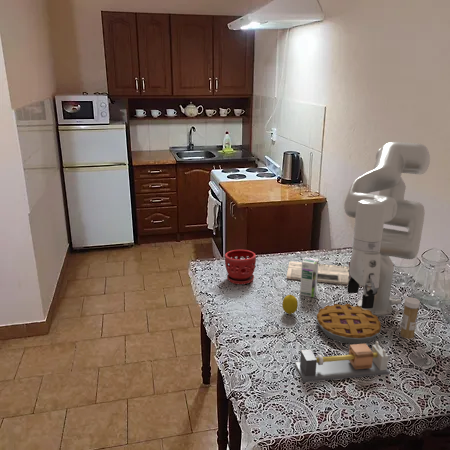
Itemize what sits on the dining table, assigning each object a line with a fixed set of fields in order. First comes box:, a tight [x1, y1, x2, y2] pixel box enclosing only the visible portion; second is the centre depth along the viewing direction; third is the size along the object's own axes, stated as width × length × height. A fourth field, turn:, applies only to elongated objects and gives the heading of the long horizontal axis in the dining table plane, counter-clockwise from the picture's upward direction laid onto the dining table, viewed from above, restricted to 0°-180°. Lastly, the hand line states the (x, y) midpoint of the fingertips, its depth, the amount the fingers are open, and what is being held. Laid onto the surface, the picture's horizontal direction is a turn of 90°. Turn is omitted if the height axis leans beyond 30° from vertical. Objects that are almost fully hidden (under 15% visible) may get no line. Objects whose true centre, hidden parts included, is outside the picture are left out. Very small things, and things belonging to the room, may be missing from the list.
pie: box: [315, 303, 383, 345], centre depth 147 cm, size 22×22×5 cm
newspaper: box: [286, 260, 362, 287], centre depth 190 cm, size 37×19×3 cm, turn 77°
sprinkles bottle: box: [399, 296, 421, 340], centre depth 142 cm, size 5×5×13 cm
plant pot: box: [224, 249, 257, 285], centre depth 182 cm, size 13×13×12 cm
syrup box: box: [299, 256, 320, 298], centre depth 170 cm, size 6×6×14 cm
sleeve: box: [348, 343, 373, 370], centre depth 126 cm, size 5×5×5 cm
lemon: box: [281, 294, 299, 315], centre depth 156 cm, size 6×6×8 cm
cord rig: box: [294, 340, 391, 383], centre depth 126 cm, size 26×8×7 cm, turn 98°
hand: (359, 300), depth 124 cm, fingers open, 9 cm apart
